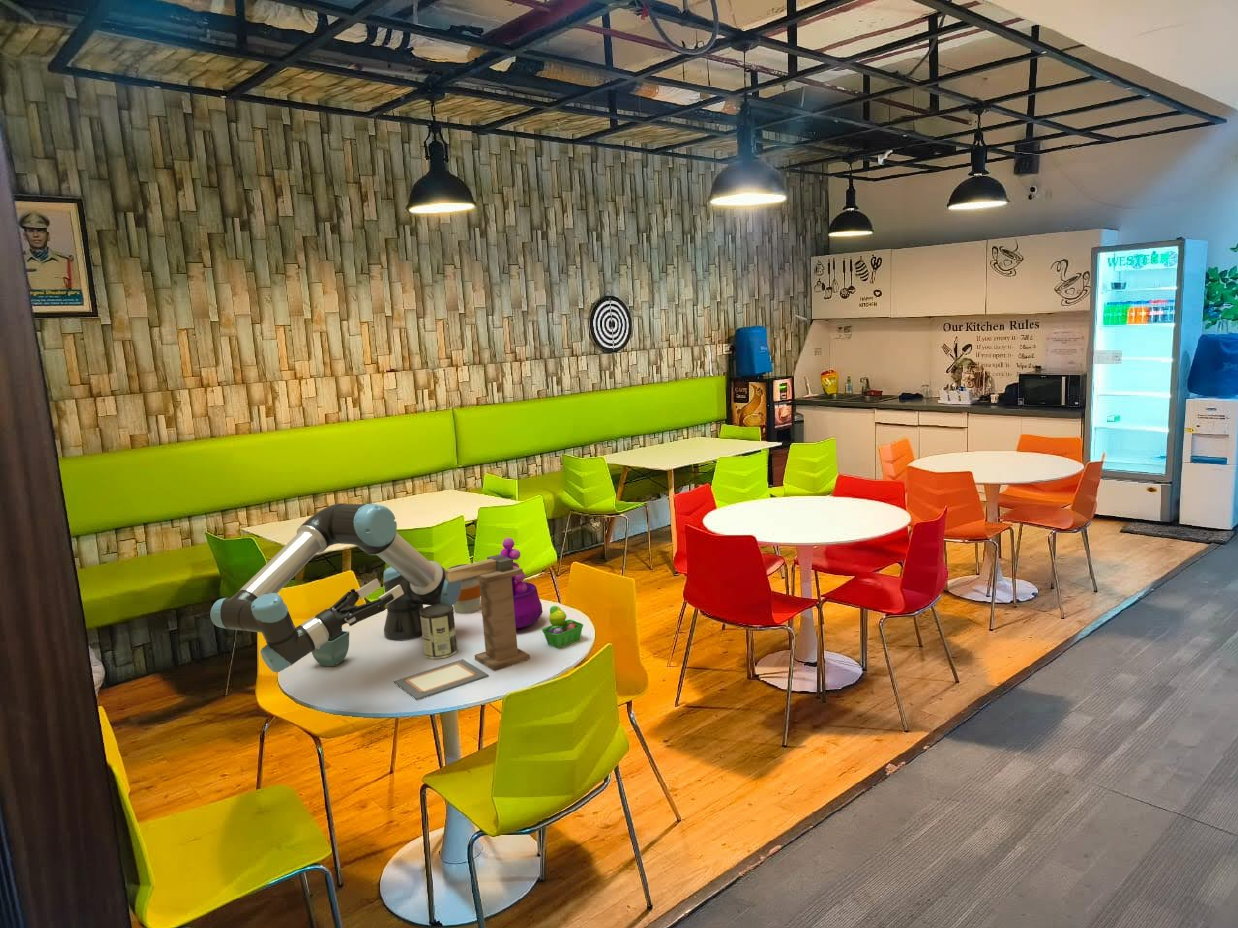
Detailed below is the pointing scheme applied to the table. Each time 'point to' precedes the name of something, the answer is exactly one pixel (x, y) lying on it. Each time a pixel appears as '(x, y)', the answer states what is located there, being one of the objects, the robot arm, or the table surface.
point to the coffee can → (438, 631)
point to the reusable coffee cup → (468, 595)
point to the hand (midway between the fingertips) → (389, 585)
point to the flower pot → (333, 650)
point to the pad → (440, 679)
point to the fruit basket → (561, 629)
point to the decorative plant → (522, 591)
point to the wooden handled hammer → (479, 568)
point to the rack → (499, 620)
